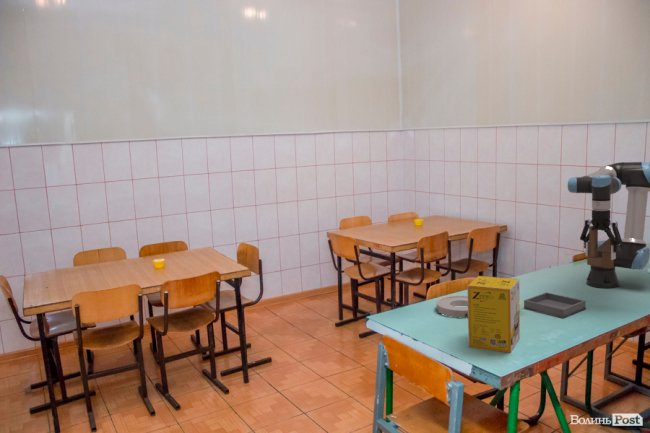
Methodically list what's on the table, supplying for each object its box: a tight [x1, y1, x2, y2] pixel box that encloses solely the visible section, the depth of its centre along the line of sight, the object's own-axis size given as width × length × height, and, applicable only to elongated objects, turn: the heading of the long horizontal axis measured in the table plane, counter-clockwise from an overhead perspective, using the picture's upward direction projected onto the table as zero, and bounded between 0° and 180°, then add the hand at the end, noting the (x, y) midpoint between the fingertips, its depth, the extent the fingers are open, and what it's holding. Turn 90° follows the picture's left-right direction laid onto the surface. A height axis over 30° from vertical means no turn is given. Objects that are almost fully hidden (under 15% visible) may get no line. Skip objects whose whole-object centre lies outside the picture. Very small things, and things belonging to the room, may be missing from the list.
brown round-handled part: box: [586, 225, 614, 268], centre depth 250 cm, size 4×11×18 cm, turn 34°
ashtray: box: [436, 295, 468, 319], centre depth 263 cm, size 23×23×4 cm
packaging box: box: [466, 275, 521, 354], centre depth 219 cm, size 16×16×25 cm
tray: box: [523, 292, 587, 319], centre depth 257 cm, size 18×20×4 cm
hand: (600, 257), depth 250 cm, fingers closed on brown round-handled part, 11 cm apart
